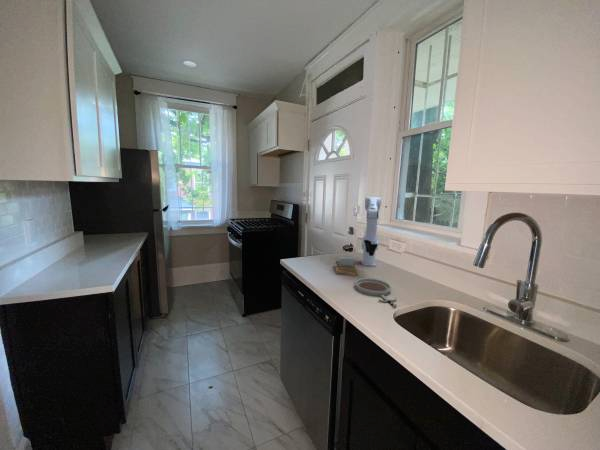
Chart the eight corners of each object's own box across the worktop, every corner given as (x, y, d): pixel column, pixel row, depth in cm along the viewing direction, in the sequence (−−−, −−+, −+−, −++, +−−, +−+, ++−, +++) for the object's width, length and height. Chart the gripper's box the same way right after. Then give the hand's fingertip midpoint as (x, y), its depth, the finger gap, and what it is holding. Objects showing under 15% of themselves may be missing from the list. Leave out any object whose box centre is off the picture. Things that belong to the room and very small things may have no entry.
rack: (334, 266, 153) (335, 260, 153) (353, 267, 153) (353, 261, 152) (336, 274, 140) (337, 268, 139) (356, 275, 139) (357, 268, 139)
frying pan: (376, 304, 100) (349, 278, 127) (376, 311, 101) (349, 283, 128) (414, 302, 104) (380, 276, 131) (413, 308, 104) (379, 281, 131)
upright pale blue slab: (338, 268, 147) (339, 257, 146) (352, 269, 147) (352, 257, 146) (338, 269, 145) (339, 258, 144) (352, 270, 145) (353, 258, 144)
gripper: (361, 228, 150) (360, 250, 152) (366, 232, 136) (365, 256, 138) (373, 228, 150) (372, 251, 152) (380, 232, 135) (378, 257, 137)
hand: (369, 253), depth 145 cm, fingers open, 7 cm apart
